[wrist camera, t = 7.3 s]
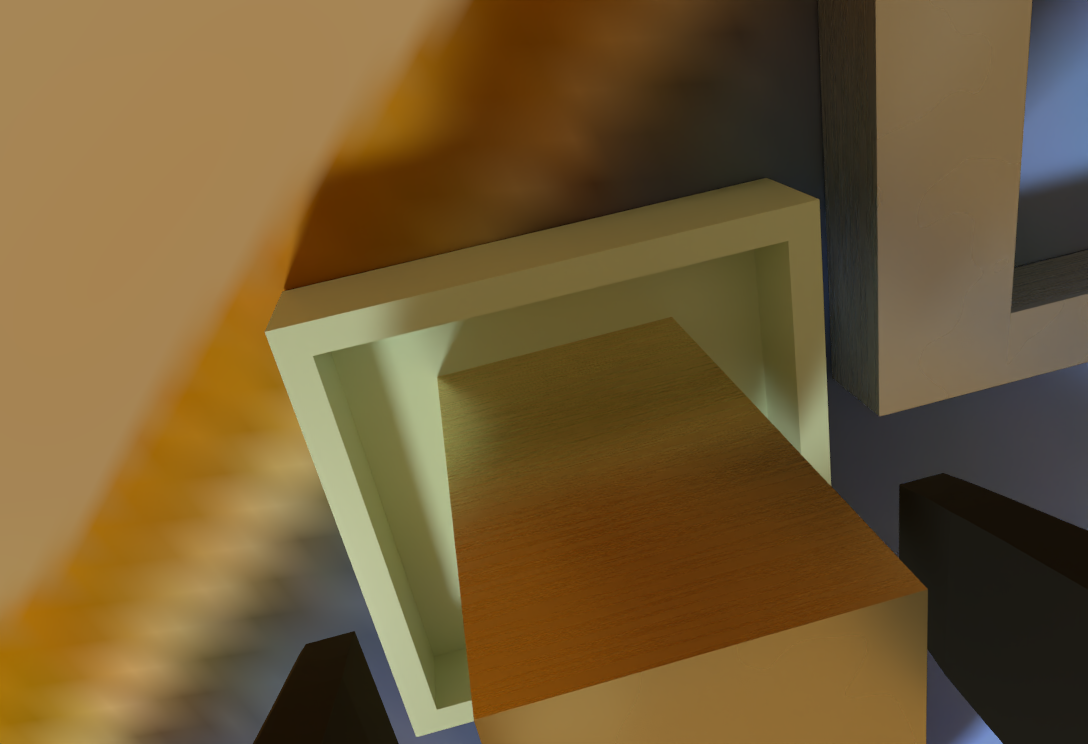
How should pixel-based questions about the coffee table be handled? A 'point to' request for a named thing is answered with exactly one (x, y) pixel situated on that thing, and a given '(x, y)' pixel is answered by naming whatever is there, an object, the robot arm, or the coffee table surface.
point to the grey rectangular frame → (934, 205)
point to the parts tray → (517, 329)
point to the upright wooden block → (665, 561)
